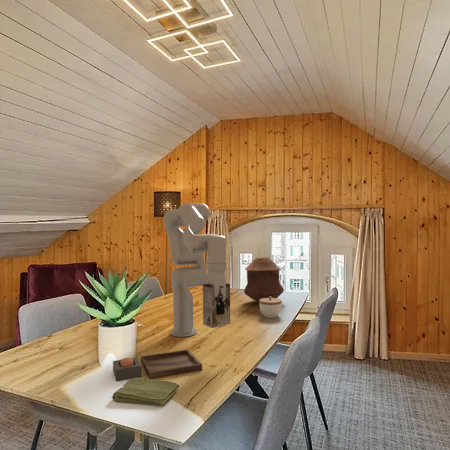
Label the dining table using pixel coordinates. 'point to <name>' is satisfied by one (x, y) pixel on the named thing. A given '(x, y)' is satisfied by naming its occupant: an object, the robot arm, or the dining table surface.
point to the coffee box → (210, 307)
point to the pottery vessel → (263, 279)
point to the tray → (170, 364)
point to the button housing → (127, 370)
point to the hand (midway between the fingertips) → (216, 311)
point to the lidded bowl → (270, 307)
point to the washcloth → (145, 392)
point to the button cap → (126, 362)
